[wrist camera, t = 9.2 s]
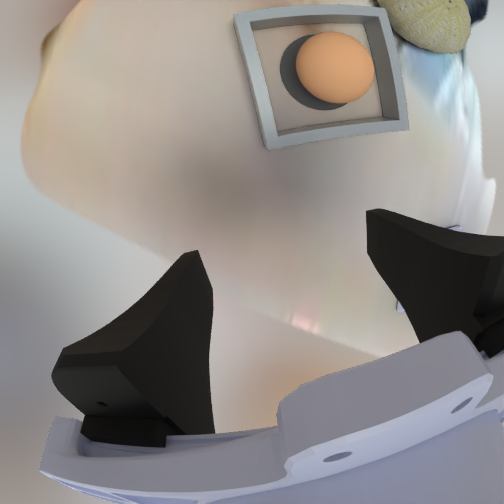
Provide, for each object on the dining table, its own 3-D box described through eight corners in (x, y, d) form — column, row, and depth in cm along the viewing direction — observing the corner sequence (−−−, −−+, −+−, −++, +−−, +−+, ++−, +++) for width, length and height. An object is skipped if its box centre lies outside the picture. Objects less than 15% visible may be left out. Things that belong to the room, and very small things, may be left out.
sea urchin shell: (409, -55, 8) (492, -16, 5) (417, 3, 15) (482, 44, 12) (344, -32, 10) (441, 8, 8) (363, 34, 17) (435, 82, 15)
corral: (392, 126, 18) (409, 130, 16) (264, 145, 19) (268, 150, 17) (370, 15, 14) (385, 8, 12) (233, 24, 14) (233, 13, 12)
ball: (357, 101, 17) (395, 101, 13) (295, 107, 17) (320, 106, 13) (345, 40, 15) (379, 26, 11) (280, 43, 15) (301, 23, 11)
